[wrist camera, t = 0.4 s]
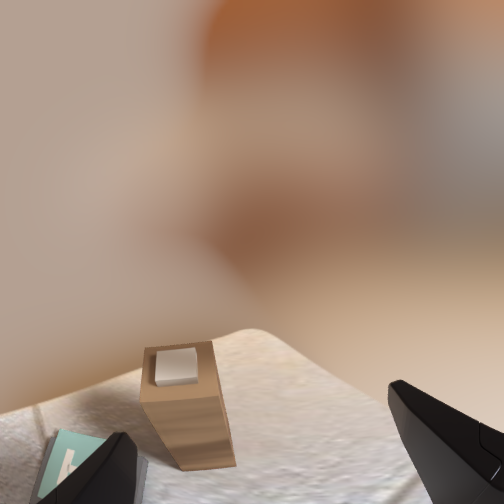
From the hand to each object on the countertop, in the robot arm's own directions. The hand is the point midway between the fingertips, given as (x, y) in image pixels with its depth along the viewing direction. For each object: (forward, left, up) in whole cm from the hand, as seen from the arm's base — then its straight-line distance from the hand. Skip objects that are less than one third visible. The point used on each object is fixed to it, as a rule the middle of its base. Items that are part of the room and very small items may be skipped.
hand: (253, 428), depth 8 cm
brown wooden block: (+7, +5, -16) cm, 18 cm away
